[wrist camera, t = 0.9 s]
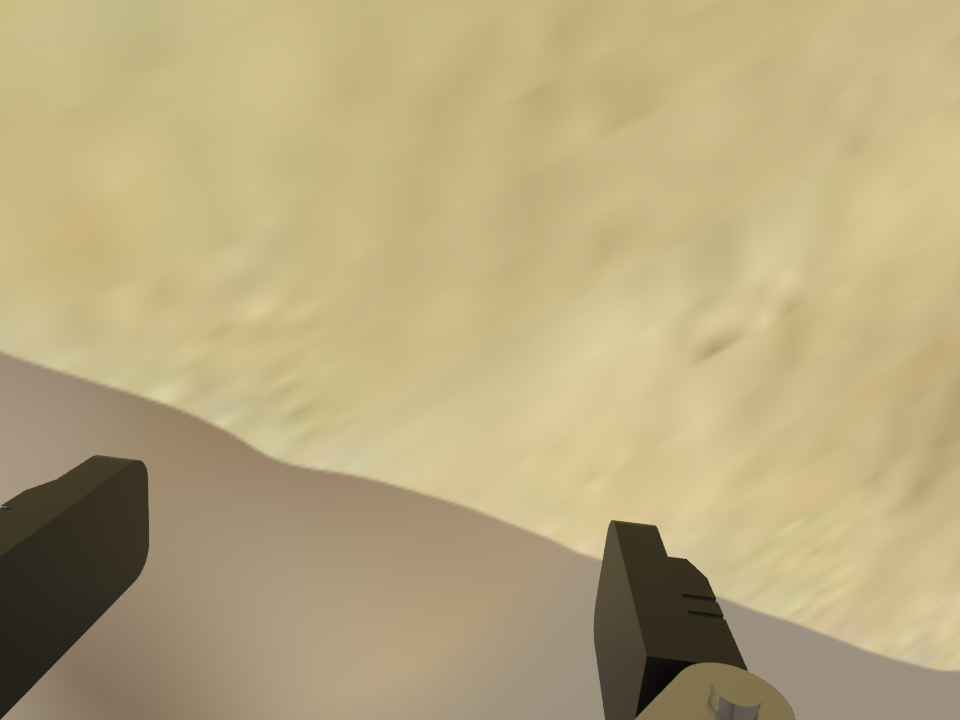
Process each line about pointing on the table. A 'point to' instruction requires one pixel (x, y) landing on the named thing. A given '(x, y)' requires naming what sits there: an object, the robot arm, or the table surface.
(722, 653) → the robot arm
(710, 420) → the table surface
